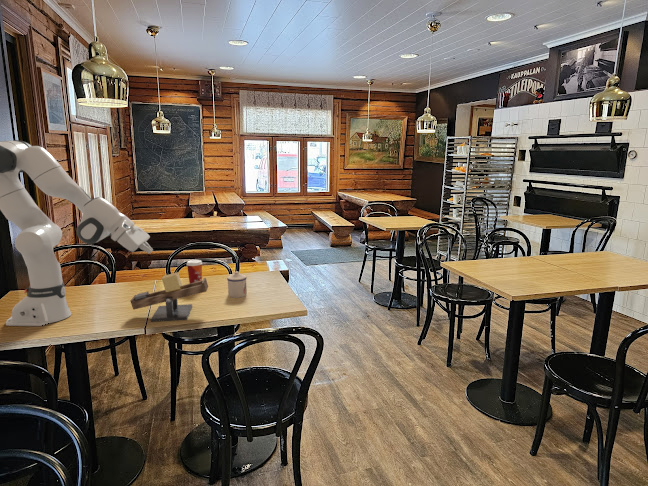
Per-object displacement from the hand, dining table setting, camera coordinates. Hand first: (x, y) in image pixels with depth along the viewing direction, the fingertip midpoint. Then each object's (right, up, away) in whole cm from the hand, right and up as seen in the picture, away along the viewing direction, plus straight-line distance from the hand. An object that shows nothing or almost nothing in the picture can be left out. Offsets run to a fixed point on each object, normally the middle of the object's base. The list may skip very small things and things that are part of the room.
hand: (151, 251), depth 171 cm
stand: (+6, -27, +7) cm, 28 cm away
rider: (+8, -17, +5) cm, 20 cm away
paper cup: (+6, -19, +41) cm, 46 cm away
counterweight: (-5, -21, +4) cm, 21 cm away
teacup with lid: (+28, -21, +32) cm, 48 cm away
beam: (+7, -20, +5) cm, 22 cm away
